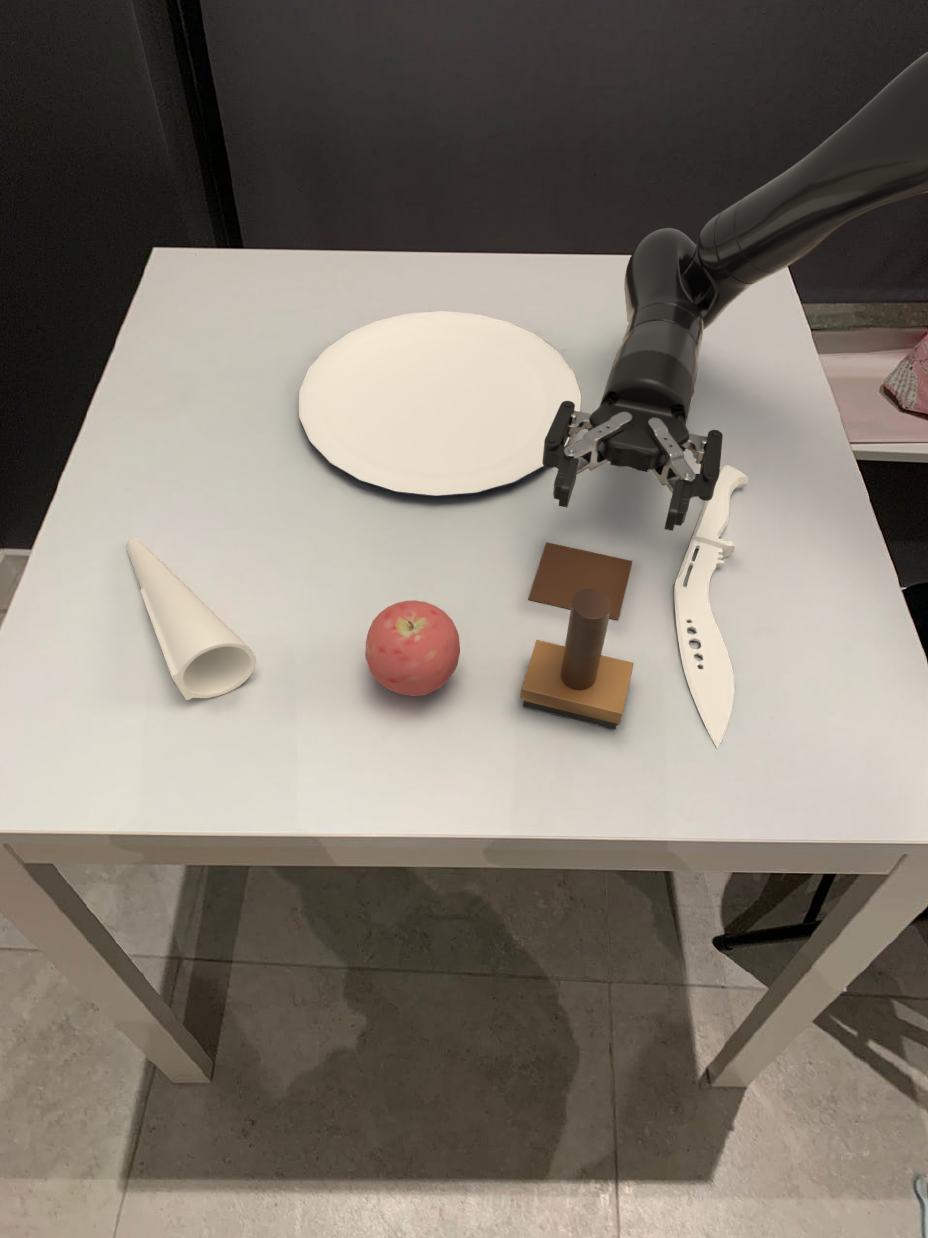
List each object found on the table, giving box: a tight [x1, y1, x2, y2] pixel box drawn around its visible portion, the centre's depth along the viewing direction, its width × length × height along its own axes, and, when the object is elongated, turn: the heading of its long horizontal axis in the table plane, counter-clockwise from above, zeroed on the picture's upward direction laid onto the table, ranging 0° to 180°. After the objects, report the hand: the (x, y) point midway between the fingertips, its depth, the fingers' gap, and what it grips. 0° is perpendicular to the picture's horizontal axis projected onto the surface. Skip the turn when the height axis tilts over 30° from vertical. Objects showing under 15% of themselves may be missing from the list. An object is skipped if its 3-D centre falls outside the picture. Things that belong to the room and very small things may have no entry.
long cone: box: [126, 536, 257, 701], centre depth 79 cm, size 6×6×19 cm
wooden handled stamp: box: [520, 588, 635, 730], centre depth 71 cm, size 8×5×12 cm, turn 74°
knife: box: [673, 464, 749, 749], centre depth 81 cm, size 30×2×8 cm
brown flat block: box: [527, 541, 633, 621], centre depth 83 cm, size 8×7×1 cm
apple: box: [365, 599, 461, 697], centre depth 73 cm, size 7×7×8 cm
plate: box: [298, 310, 582, 498], centre depth 97 cm, size 29×29×2 cm
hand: (616, 511), depth 73 cm, fingers open, 8 cm apart
